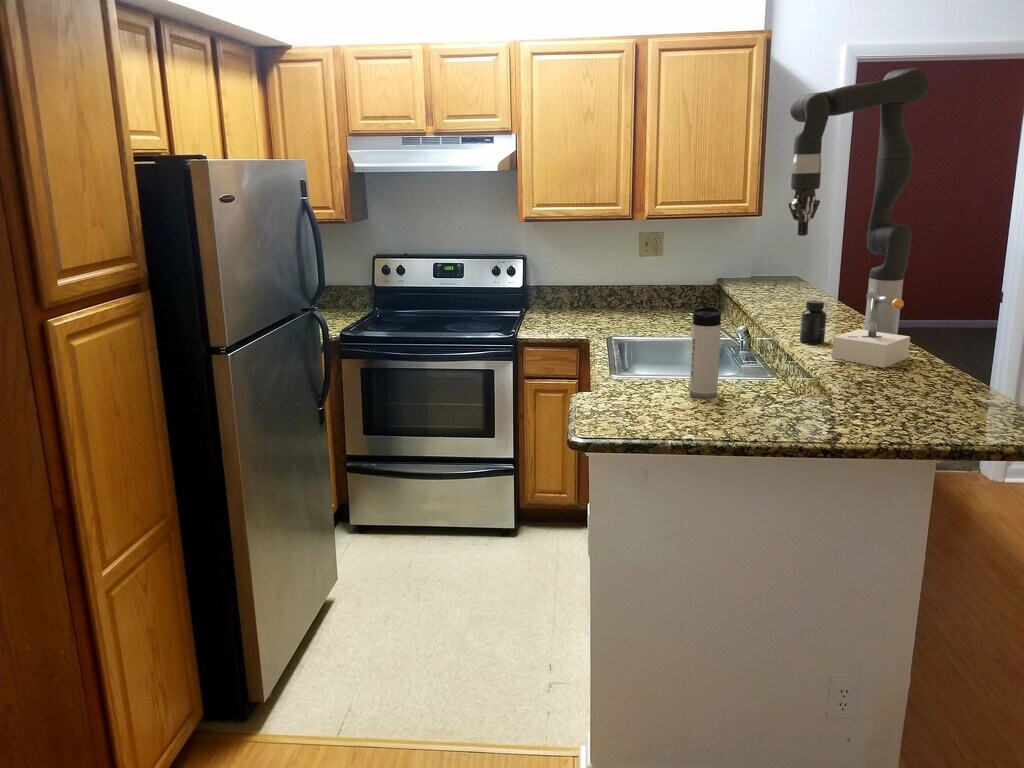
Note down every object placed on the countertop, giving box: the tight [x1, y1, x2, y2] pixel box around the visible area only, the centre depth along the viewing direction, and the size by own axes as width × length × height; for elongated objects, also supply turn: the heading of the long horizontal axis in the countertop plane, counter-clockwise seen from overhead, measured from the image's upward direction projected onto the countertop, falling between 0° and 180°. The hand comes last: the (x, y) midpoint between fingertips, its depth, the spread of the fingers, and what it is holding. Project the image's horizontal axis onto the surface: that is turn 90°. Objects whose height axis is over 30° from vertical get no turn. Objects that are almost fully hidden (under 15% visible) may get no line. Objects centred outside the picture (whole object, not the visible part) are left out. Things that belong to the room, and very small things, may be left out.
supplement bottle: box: [799, 300, 828, 345], centre depth 233 cm, size 7×7×12 cm
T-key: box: [865, 292, 905, 336], centre depth 207 cm, size 14×3×12 cm, turn 6°
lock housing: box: [831, 328, 911, 369], centre depth 213 cm, size 14×14×6 cm
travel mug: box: [689, 306, 722, 399], centre depth 182 cm, size 6×7×20 cm
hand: (802, 235), depth 224 cm, fingers closed
